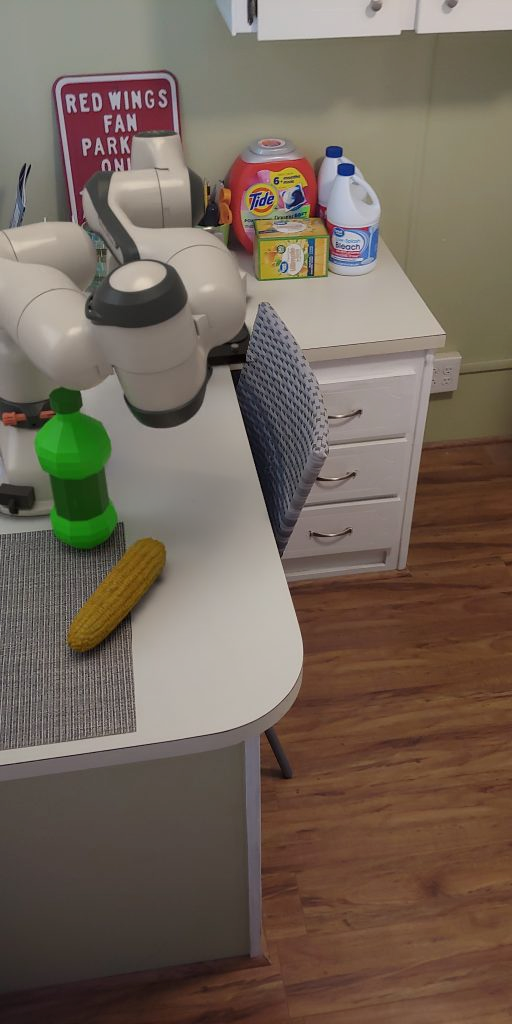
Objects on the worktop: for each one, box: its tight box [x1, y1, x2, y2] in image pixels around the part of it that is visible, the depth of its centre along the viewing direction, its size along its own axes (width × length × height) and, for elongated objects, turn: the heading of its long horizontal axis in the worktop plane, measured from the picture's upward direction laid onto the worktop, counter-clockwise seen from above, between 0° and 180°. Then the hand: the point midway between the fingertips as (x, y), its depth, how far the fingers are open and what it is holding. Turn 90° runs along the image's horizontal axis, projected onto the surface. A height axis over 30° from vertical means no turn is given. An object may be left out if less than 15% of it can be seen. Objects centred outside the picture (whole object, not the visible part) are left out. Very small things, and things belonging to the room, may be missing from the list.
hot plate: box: [207, 321, 252, 367], centre depth 183 cm, size 14×16×3 cm
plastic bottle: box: [34, 387, 119, 550], centre depth 131 cm, size 10×10×25 cm
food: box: [65, 536, 167, 653], centre depth 125 cm, size 21×6×6 cm, turn 156°
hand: (167, 305), depth 164 cm, fingers open, 8 cm apart
